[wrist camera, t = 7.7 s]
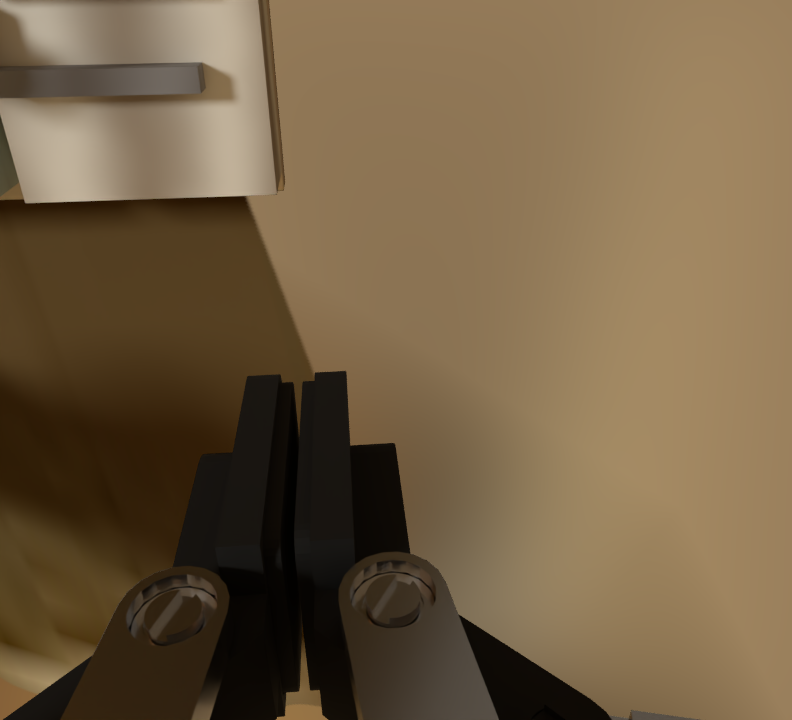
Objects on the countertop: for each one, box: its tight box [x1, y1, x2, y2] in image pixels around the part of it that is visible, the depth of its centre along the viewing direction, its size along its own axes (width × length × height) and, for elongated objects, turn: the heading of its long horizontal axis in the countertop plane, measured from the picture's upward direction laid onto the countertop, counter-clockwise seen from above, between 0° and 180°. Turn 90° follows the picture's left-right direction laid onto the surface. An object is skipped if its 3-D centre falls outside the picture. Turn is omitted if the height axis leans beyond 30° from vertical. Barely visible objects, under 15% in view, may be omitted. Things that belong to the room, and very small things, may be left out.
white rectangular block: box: [0, 0, 285, 203], centre depth 28 cm, size 20×16×9 cm
